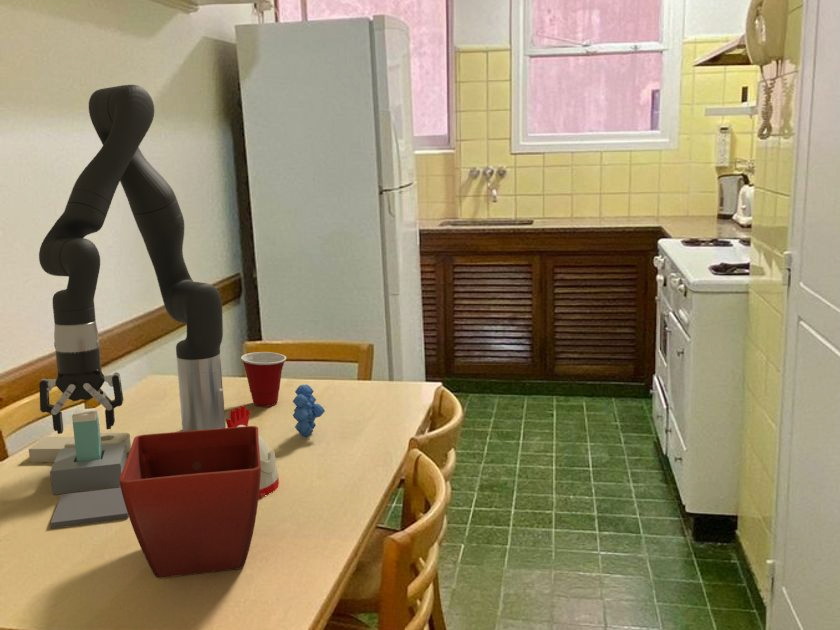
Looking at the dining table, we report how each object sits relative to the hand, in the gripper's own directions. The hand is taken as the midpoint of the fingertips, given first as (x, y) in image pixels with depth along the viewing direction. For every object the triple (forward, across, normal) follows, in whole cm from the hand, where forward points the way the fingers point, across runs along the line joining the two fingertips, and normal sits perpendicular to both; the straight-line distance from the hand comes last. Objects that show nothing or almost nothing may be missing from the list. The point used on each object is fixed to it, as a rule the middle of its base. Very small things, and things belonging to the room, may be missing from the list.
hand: (84, 430), depth 155 cm
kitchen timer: (+10, -28, +13) cm, 32 cm away
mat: (+10, -2, +15) cm, 18 cm away
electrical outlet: (+10, +3, -14) cm, 18 cm away
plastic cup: (+9, -36, -38) cm, 53 cm away
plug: (+10, 0, 0) cm, 10 cm away
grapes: (+9, -43, -10) cm, 46 cm away
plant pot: (+10, -21, +38) cm, 44 cm away
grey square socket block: (+10, 0, 0) cm, 10 cm away
